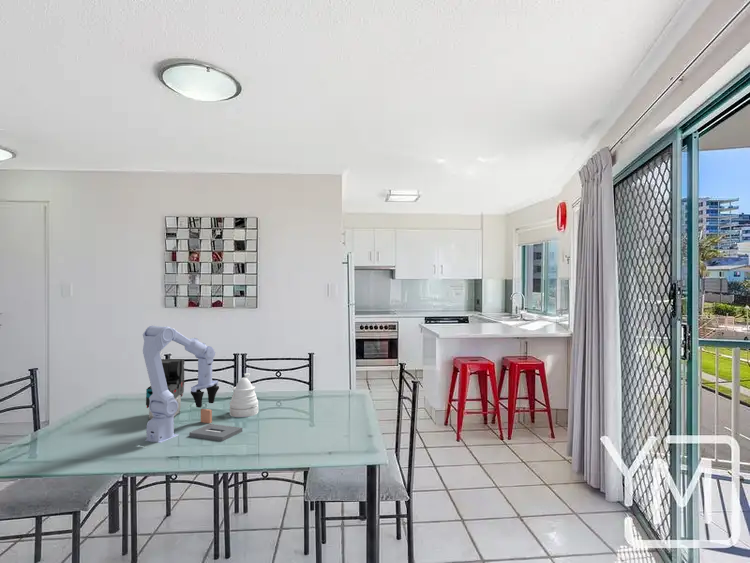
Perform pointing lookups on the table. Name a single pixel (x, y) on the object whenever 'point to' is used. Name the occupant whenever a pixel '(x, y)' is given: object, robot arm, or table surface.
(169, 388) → the bill acceptor
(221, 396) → the table surface
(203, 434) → the gray slotted plate
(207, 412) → the upright peach slab
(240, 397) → the honey pot
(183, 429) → the table surface
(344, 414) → the table surface
